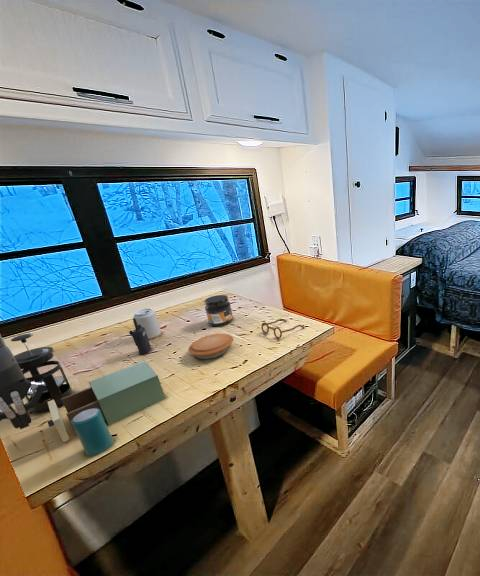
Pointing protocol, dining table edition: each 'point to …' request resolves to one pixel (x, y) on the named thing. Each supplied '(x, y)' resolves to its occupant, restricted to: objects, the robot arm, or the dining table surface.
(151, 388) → the cabinet
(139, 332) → the two-way radio
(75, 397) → the drawer
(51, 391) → the french press
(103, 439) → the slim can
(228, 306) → the supplement container
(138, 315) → the can
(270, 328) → the glasses
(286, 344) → the dining table surface
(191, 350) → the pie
